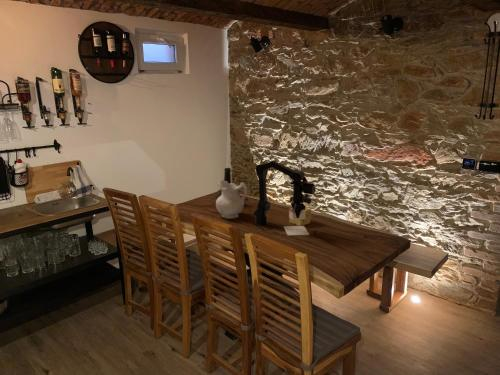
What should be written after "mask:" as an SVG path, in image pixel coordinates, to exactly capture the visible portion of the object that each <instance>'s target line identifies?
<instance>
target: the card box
mask: <svg viewBox="0 0 500 375" xmlns="http://www.w3.org/2000/svg"><path fill="white" fill-rule="evenodd" d="M305 213H306V212H305V211H304V210H302V211H301V213H300V216H299V218H297V217H296V214H295V211H294V210H290V209H288V218H291V219H292V220H298V219H305Z"/></svg>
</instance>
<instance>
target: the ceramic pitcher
mask: <svg viewBox="0 0 500 375" xmlns="http://www.w3.org/2000/svg"><path fill="white" fill-rule="evenodd" d="M217 187H219V189H221V191H222V195H221V196H220V197H219V198H218V199H217V200H216V199H215V207H216V210H217V211H218V212H219V213H220V214H221V217H222V218H224V219H228V220H229V219H237V218H239V214H240V213H241V212H242V211H243V208H244V207H245V201H244V200H246V198H247V195H248V187H247V185H246V183H245V182H239V185H236V183H235V182H234V183H233V182H231V183H228V182H227V181H224V179H223V180H220V181H219V182H218V183H217ZM240 189H243V191H244V192H243V194H242V197H241V196H240V194H239V195H238V193H239V191H240Z"/></svg>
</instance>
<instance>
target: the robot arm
mask: <svg viewBox="0 0 500 375" xmlns="http://www.w3.org/2000/svg"><path fill="white" fill-rule="evenodd" d="M271 168H272V169H274V170H276V171H277V172H280V173H282V174H284V175H286V176H288V177H289V178H290V179H291V180H292V181H291V182H290V183H289V185H293V186H292V193H291V194H292V196H290V197H289V202H290V205H291V208H292V209H293V210H294V211H295V214H296V217H297V218H299V216H300V213H301V211H302V210H305V208H307V207H306V205H305V204H308V205H311V202H312V198H311V197H309V195H311V196H312V195H314V194H315V193H316V185H315V183H314V182H309V180H308V179H307V178H306V176H305V173H304V171H302V170H299V169H295V168H290V167H288V166H287V165H285V164H283V163H281V162H278V161H277V160H275V159H274V160H273V159H272V160H270V161H268V162H266V163H265V162H263V163H259V164H257V165H256V166H255V168H254V169H255V173H256V176H257V179H258V194H259V195H258V196H259V197H258V198H259V201H258V203H257V206H256V207H257V208H256V210H255V211H254V212H253V215H254V216H255V221H254V222H255V225H256V226H266V225H267V216H266V215H267V213H268V212H269V211H270V209H271V201H268V197H267V196H268V195H267V176H268V173H269V169H271ZM304 203H305V204H304Z"/></svg>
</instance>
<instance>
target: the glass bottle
mask: <svg viewBox="0 0 500 375" xmlns="http://www.w3.org/2000/svg"><path fill="white" fill-rule="evenodd" d="M223 171H224V173H223V174H224V176H223V180H224V181H227V182H228V183H232V178H231V172H232V170H231V168H230V167H225V168H224V170H223ZM221 195H222V191H221V188H219V189H218V190H217V191H216V193H215V201H216V200H217V199H218V198H219V197H220V196H221ZM238 195H239V196H240V194H239V192H238Z"/></svg>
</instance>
